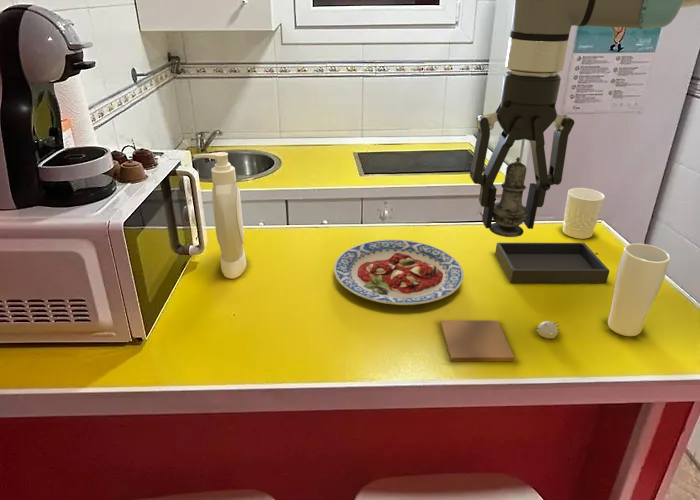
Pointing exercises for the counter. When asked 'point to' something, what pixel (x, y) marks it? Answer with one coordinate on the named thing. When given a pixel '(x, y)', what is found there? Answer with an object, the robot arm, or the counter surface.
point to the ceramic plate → (398, 272)
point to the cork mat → (476, 341)
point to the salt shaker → (511, 203)
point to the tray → (550, 263)
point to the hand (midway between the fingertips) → (507, 224)
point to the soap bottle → (227, 215)
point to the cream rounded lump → (548, 329)
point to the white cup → (582, 212)
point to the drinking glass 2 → (636, 287)
